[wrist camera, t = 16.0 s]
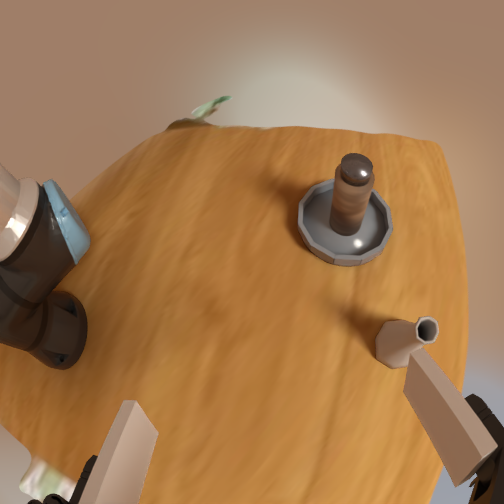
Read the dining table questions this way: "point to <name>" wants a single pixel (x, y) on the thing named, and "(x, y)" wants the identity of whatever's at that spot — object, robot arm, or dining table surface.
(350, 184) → the pepper mill
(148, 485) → the dining table surface
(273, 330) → the dining table surface
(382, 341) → the flask
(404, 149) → the dining table surface
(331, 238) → the round grey tray
